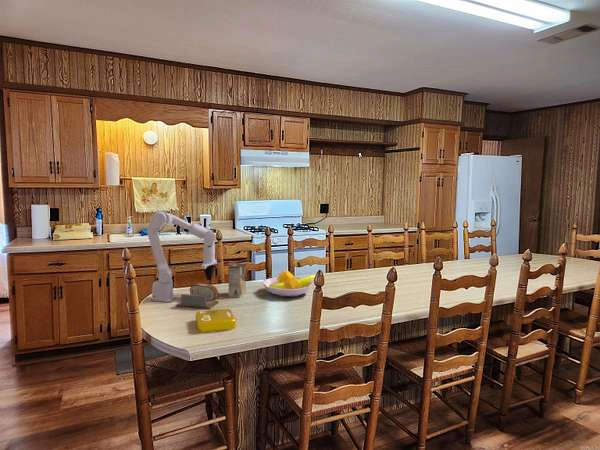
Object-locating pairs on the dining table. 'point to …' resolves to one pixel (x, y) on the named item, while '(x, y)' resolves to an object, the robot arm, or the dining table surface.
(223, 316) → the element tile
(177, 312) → the dining table surface
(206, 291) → the tin
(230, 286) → the coffee box
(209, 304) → the shelf board
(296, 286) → the fruit bowl
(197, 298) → the bookend
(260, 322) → the dining table surface
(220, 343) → the dining table surface
